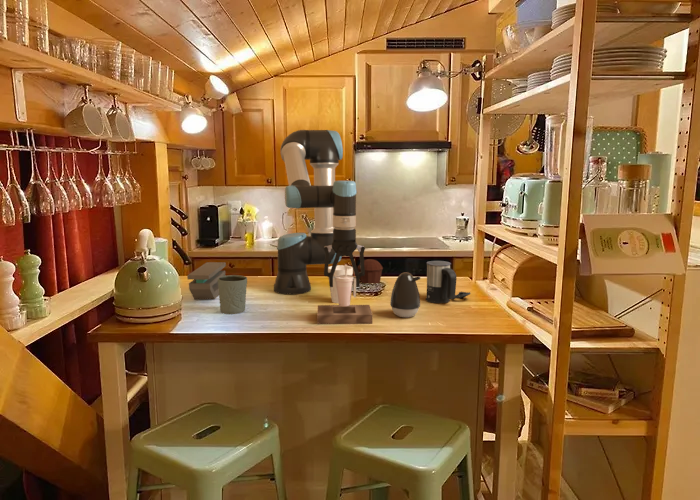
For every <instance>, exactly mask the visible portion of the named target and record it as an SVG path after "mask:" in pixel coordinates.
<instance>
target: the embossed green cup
mask: <svg viewBox="0 0 700 500" xmlns="http://www.w3.org/2000/svg"><path fill="white" fill-rule="evenodd" d="M247 284H248V277H247V276H245V275H241V274H240V275H239V274H228V275H226V274H225V276H221V277H219V278H218V288H219V296H218V299H219V300H218V301H219V304H220V305H219V311H220V313H221V314H223V313H224V314H223V315H237V314H241V313H244V312H245V310H246V300H247V299H246V298H247Z"/></svg>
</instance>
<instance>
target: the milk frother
mask: <svg viewBox="0 0 700 500" xmlns="http://www.w3.org/2000/svg"><path fill="white" fill-rule="evenodd" d="M451 265H452V263H451V262H449V261H444V260H431V261H427V262H426V298H425V301H426V302H428V303H431V304H433V303H434V304H445V303H446V304H447V303H450V301H451V300H454V299H458V298H460V299H463V298H465V297H467V296H469V295H471V291H470V292H466V291H459V292H458V293H457V294H456V290H457V289H456V288H457V274H456V272H455V271H454V269H452V268H451Z"/></svg>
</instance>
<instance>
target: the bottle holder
mask: <svg viewBox="0 0 700 500" xmlns="http://www.w3.org/2000/svg"><path fill="white" fill-rule="evenodd" d="M316 313H317V314H316V315H317V317H316V319H317V325H361V324H363V325H367V324H368V325H370V324H373V312H372V309H371V306H370V304H350V305H349V306H340V305H339V304H332V305H331V304H325V305H324V304H320V305H317V312H316Z"/></svg>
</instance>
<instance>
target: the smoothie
mask: <svg viewBox="0 0 700 500" xmlns="http://www.w3.org/2000/svg"><path fill="white" fill-rule="evenodd" d="M344 265H345V275H338V276H335V280H336V286H337V294H338V302H339V304H338V305H340V306H349V305H351V299H352V290H353V280H354V277H353V276H354V275H352V276H351V275H347V266H348V263H345V264H344Z"/></svg>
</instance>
